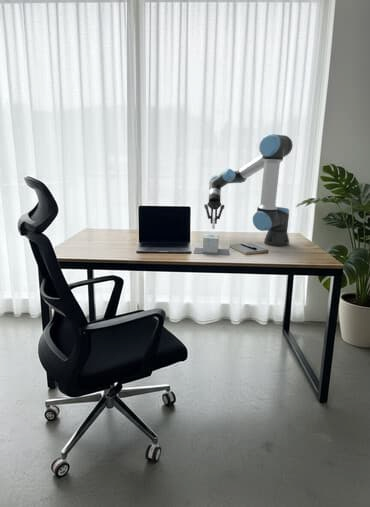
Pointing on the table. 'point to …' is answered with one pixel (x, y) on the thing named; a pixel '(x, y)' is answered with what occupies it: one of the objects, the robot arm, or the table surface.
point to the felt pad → (220, 252)
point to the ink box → (210, 243)
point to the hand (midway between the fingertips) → (213, 227)
